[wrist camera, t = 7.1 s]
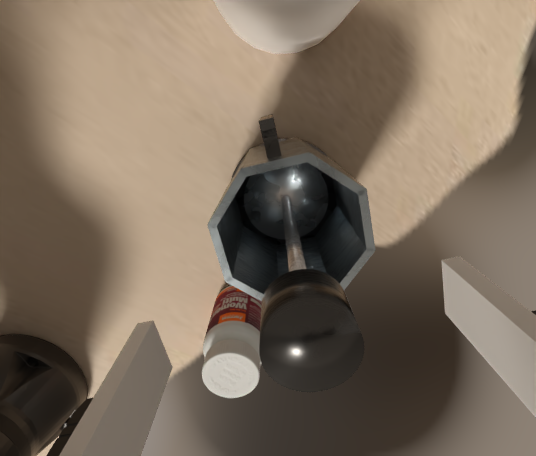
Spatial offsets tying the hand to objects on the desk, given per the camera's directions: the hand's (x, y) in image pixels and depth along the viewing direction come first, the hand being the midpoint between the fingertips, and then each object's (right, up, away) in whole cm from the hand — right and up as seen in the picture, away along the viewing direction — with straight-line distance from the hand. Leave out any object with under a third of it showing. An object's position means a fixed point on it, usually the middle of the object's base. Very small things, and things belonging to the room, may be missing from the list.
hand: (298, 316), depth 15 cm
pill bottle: (-5, -5, +25) cm, 26 cm away
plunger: (0, +7, +19) cm, 20 cm away
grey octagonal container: (0, +9, +20) cm, 22 cm away
